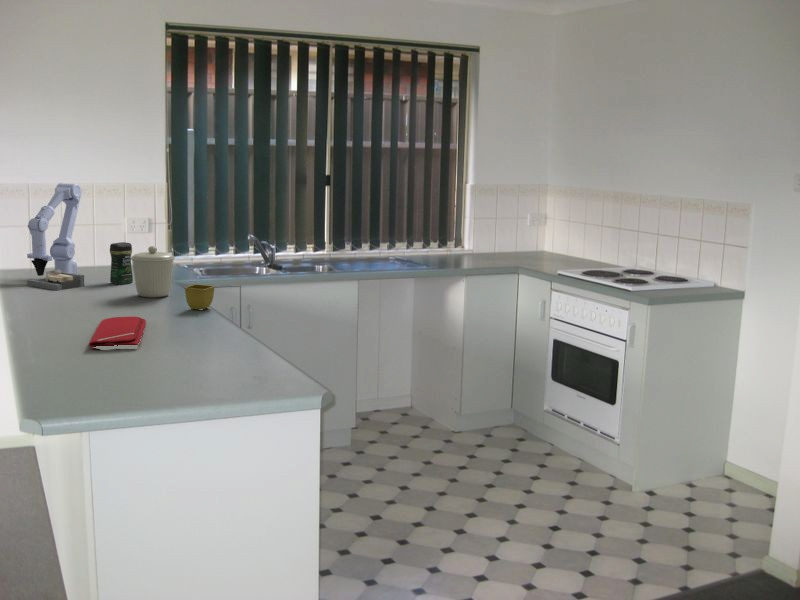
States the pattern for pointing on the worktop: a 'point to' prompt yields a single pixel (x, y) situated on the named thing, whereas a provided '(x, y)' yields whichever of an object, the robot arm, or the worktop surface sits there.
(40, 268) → the robot arm
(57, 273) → the footed beige box
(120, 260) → the coffee jar
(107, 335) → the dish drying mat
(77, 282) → the loading dock
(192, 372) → the worktop surface
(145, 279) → the canister
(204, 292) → the flower pot
